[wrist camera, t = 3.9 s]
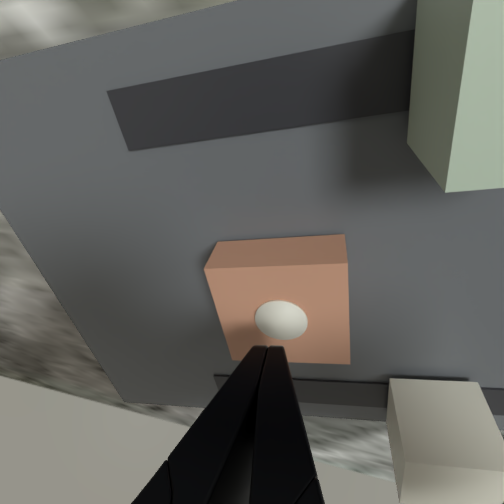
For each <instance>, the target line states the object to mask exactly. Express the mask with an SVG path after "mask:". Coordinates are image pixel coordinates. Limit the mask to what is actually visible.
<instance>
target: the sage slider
mask: <svg viewBox="0 0 504 504" xmlns="http://www.w3.org/2000/svg"><path fill="white" fill-rule="evenodd" d="M407 144H408V145H409V147H410V148H411V149H412V150H413V152H414V153H415V154H416V156H417V157H418V158H419V160H420V161H421V162H422V163H423V165H424V166H425V167H426V169H427V170H428V171H429V173H430V174H431V175H432V176H433V178H434V179H435V180H436V182H437V183H438V184H439V186H440V187H441V188H442V189H443V191H444V192H445V193H448V192H459V191H471V190H483V189H495V188H504V0H417V13H416V27H415V40H414V54H413V67H412V81H411V94H410V108H409V121H408V135H407Z"/></svg>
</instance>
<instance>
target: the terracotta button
mask: <svg viewBox="0 0 504 504" xmlns="http://www.w3.org/2000/svg"><path fill="white" fill-rule="evenodd" d="M204 271H205V275H206V278H207V281H208V284H209V287H210V291H211V294H212V297H213V300H214V303H215V307H216V310H217V313H218V316H219V319H220V322H221V326H222V329H223V332H224V335H225V338H226V342H227V345H228V348H229V351H230V354H231V358H232V360H239V361H241V360H242V359H243V358H244V357H245V355H246V354H247V353H248V351H249V350H250V349H251V347H252V346H254V345H267V346H268V347H269V346H271V345H280V346H283V347H284V349H285V352H286V356H287V360H288V362H296V363H324V364H350V328H349V288H348V260H347V250H346V241H345V234H338V235H321V236H304V237H288V238H271V239H255V240H238V241H222V242H217V244H216V246H215V248H214V250H213V252H212V254H211V256H210V258H209V259H208V261H207V263H206V265H205V267H204Z"/></svg>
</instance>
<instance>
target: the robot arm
mask: <svg viewBox="0 0 504 504" xmlns="http://www.w3.org/2000/svg"><path fill="white" fill-rule="evenodd" d="M131 504H325V502H324V499H323V495H322V491H321V487H320V483H319V480H318V478H317V472H316V469H315V465H314V461H313V457H312V453H311V449H310V445H309V441H308V437H307V434H306V430H305V426H304V422H303V418H302V414H301V410H300V407H299V403H298V399H297V395H296V391H295V387H294V383H293V379H292V376H291V372H290V368H289V364H288V360H287V356H286V352H285V349H284V347H283V346H280V345H271V346H269V347H268V346H267V345H254V346H252V347H251V349H250V350H249V351H248V353H247V354H246V355H245V357H244V358H243V359H242V360H241V362H240V363H239V364H238V366H237V367H236V368H235V370H234V371H233V372H232V374H231V375H230V376H229V378H228V379H227V380H226V381H225V383H224V384H223V385H222V387H221V388H220V389H219V391H218V392H217V393H216V395H215V396H214V397H213V399H212V400H211V401H210V403H209V404H208V405H207V406H206V408H205V409H204V410H203V412H202V413H201V414H200V416H199V417H198V418H197V420H196V421H195V422H194V424H193V425H192V426H191V427H190V429H189V430H188V431H187V433H186V434H185V435H184V437H183V438H182V439H181V441H180V442H179V443H178V445H177V446H176V447H175V449H174V450H173V451H172V452H171V454H170V455H169V457H168V461H167V460H166V461H164V463H163V464H162V466H161V467H160V468H159V470H158V471H157V472H156V473H155V475H154V476H153V477H152V478H151V480H150V481H149V482H148V483H147V485H146V486H145V487H144V489H143V490H142V491H141V492H140V493H139V495H138V496H137V497H136V499H135V500H134V501H133V502H132V503H131Z"/></svg>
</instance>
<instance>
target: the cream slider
mask: <svg viewBox="0 0 504 504" xmlns="http://www.w3.org/2000/svg"><path fill="white" fill-rule="evenodd" d="M386 423H387V429H388V436H389V442H390V448H391V454H392V460H393V466H394V473H395V479H396V485H397V491H398V497H399V503H401V504H502V503H503V501H504V440H503V437H502V435H501V433H500V431H499V428H498V426H497V424H496V422H495V419H494V417H493V415H492V413H491V410H490V408H489V406H488V404H487V402H486V399H485V397H484V395H483V393H482V390H481V388H480V386H479V384H478V382H464V381H441V380H418V379H395V378H389V391H388V405H387V418H386Z"/></svg>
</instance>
